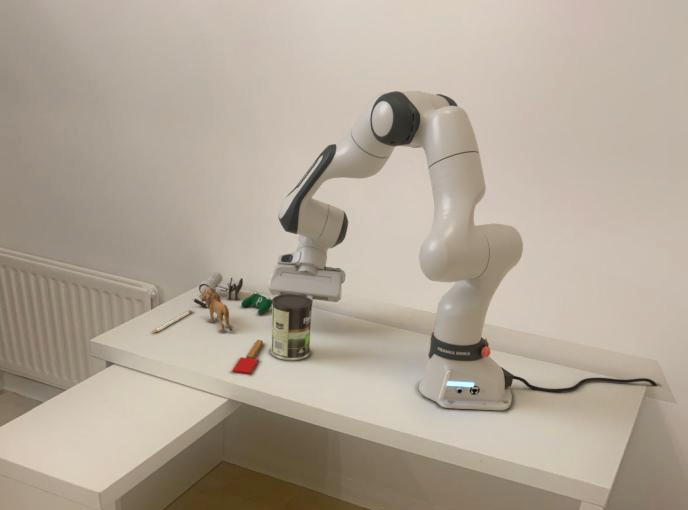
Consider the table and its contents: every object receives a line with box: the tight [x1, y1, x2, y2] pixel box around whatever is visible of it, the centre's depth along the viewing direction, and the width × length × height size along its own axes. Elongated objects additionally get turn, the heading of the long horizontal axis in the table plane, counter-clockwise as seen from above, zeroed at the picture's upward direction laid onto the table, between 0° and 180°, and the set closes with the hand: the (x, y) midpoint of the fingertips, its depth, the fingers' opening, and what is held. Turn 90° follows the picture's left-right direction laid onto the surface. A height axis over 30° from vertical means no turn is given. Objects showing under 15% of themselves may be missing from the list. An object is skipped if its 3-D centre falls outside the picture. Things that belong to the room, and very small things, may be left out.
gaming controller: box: [240, 290, 273, 316], centre depth 222 cm, size 9×4×6 cm
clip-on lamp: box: [191, 271, 244, 308], centre depth 226 cm, size 12×6×18 cm
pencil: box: [153, 310, 192, 334], centre depth 211 cm, size 1×19×1 cm, turn 154°
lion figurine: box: [198, 287, 234, 333], centre depth 209 cm, size 15×5×9 cm, turn 37°
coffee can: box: [270, 294, 313, 361], centre depth 194 cm, size 10×10×14 cm
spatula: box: [232, 339, 264, 375], centre depth 194 cm, size 4×19×1 cm, turn 169°
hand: (300, 311), depth 204 cm, fingers closed
